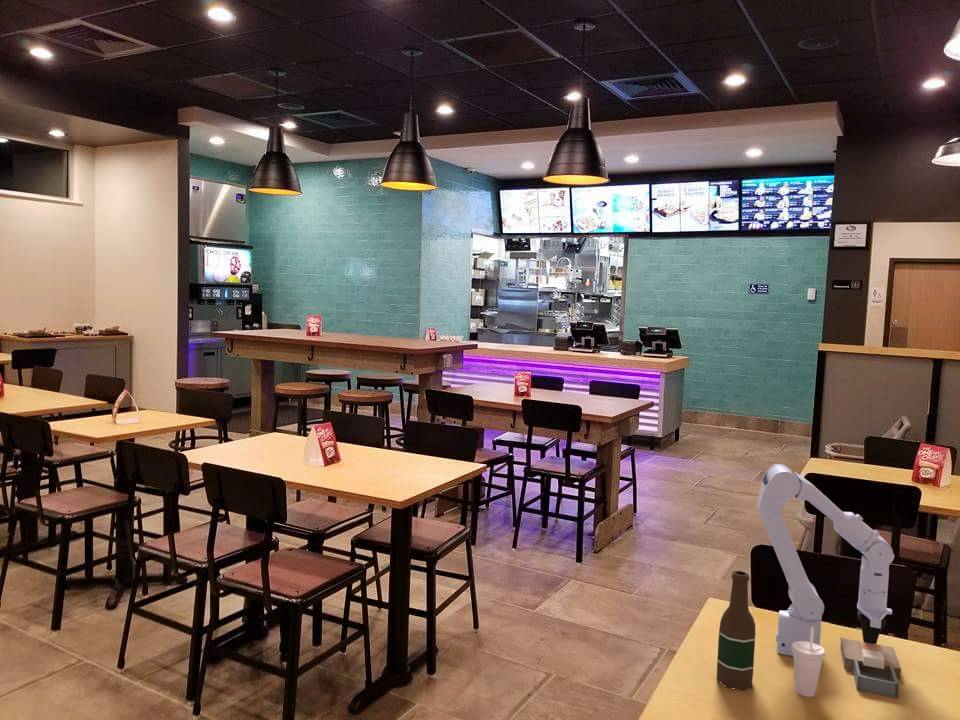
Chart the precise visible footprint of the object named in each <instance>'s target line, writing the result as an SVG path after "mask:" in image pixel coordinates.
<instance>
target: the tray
mask: <svg viewBox="0 0 960 720" xmlns="http://www.w3.org/2000/svg"><path fill="white" fill-rule="evenodd" d="M852 673H853V677H854V678H853V679H854V682H855V683H854V684H855V688H856V691H859V692H865V693H866V692H867V693H870V694H876V695H879V696H886V697H890V698H895V699H898V698H899V688H900V687H899V685H900V683H899V679H897V677H896V674H895V671H894V668H893V665H891V664H889V676H885V675H880V674H875V673H870V672H864V671H860V670H859V666H858V661H857V658H854V661H853V670H852Z"/></svg>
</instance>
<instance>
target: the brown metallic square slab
mask: <svg viewBox="0 0 960 720" xmlns="http://www.w3.org/2000/svg"><path fill="white" fill-rule="evenodd" d="M860 642H862V641H859V640H854V639H849V638H845V637H841V638H840V653H841V659H842V663H843V668H844V669H843V670H849V671H853V661H854V658H857V661H858V666H859V670H860V671H864V672H870V673H875V674H880V675H885V676H889V664H891V665H893V668H894V671H895V674H896V677H897V680H901V676H902V674H901V672H902V667H901V663H900V661H899V658H898V655H897V653H896V650H895V647H894V646H890V645H883V644H879V645H880V646H881V649H882V652H883V657H884V660H885V662H884V669H881V668H876V667H870V666H865V665H863V662H862V658H861V652H860Z"/></svg>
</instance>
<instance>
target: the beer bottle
mask: <svg viewBox="0 0 960 720" xmlns="http://www.w3.org/2000/svg"><path fill="white" fill-rule="evenodd" d="M731 579H732V582H731V583H732V585H731V592H730V598H729V605H728V607H727V608H726V609H725V611H724V612H723V614H722V616H721V619H720V622H719V630H718V643H717V662H716V664H717V665H716V681H717V680H718V681H719V682H721V683H722V684H723V685H725V686H726V687H729V688H728V689H730V688H735V689H739V690H741V691H745V690H744V689H746V690H749V689H748V688H750V689H752V687H753V686H752V685H753V678H754V663H755V649H756V648H755V645H756V623H755V619H754V616H753V615H752V613H751V611H750V610H749V585H748V584H749V581H750V575H749V573H748V572H746V571H742V570H734V571H733V572H732V574H731ZM718 681H717V682H718ZM719 682H718V683H719ZM721 683H720V684H721ZM722 684H721V685H722ZM723 685H722V686H723ZM725 686H724V687H725ZM726 687H725V688H726ZM735 689H734V690H735ZM739 690H738V691H739Z"/></svg>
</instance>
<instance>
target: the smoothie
mask: <svg viewBox="0 0 960 720" xmlns="http://www.w3.org/2000/svg"><path fill="white" fill-rule="evenodd" d="M813 634H814V628H813V627H811V635H810V642H807V641H796V642H794V643H792V648H791V649H792V651H793V656H792V657H793V667H794V681H795V682H794V684H795V692H796V693H797V694H799V695H801V696H803V697H809V698H812V697H814V696H816V692H817V687H818V683H819V677H820V674H821V673H820V672H821V669H822V663H823V660H824V659H823V658H825V656H826V655H825V654H826V651H825V649H824V648H823V646H821V645H820V646H819V645H817V644H815V643H813Z"/></svg>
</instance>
